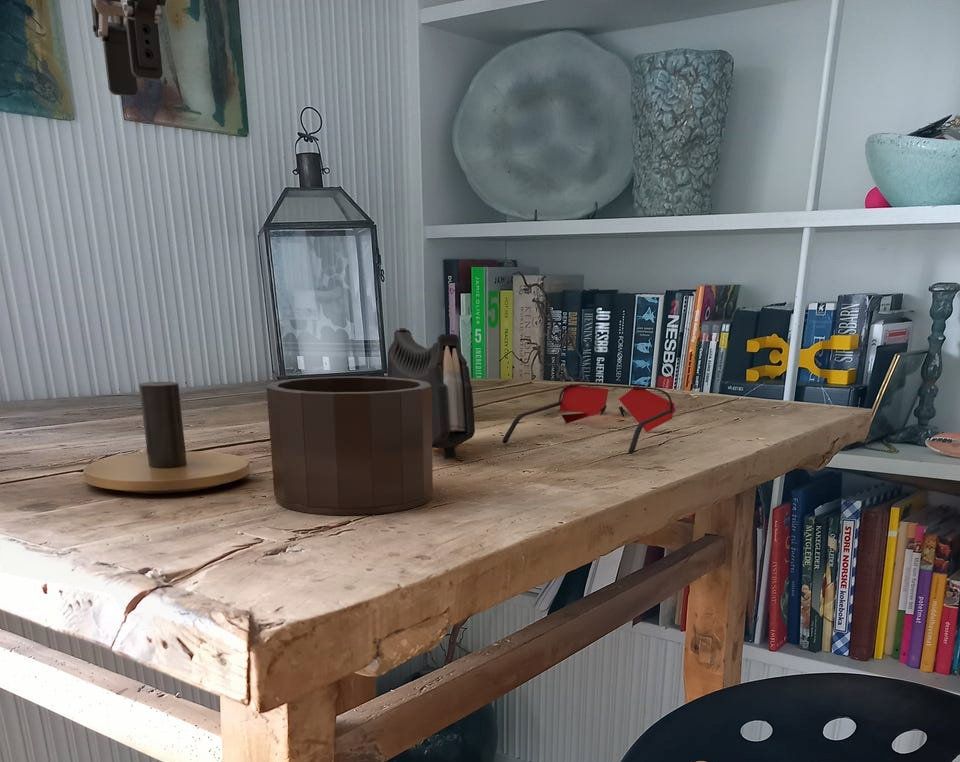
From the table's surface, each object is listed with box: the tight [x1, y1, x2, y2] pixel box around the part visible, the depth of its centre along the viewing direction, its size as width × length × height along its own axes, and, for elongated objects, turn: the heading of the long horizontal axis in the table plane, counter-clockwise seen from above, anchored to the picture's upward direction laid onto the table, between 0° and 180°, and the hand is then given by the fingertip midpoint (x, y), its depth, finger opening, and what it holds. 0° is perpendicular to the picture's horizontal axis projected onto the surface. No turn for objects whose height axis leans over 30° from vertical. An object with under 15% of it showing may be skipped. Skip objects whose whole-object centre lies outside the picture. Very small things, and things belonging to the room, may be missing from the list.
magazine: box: [386, 327, 476, 460], centre depth 97 cm, size 17×3×30 cm
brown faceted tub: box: [266, 375, 434, 516], centre depth 71 cm, size 12×12×8 cm
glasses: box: [501, 383, 677, 455], centre depth 99 cm, size 14×16×5 cm
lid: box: [82, 381, 251, 494], centre depth 76 cm, size 13×13×8 cm
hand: (135, 87), depth 75 cm, fingers open, 8 cm apart
